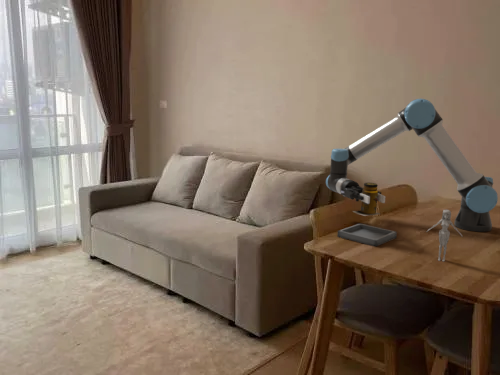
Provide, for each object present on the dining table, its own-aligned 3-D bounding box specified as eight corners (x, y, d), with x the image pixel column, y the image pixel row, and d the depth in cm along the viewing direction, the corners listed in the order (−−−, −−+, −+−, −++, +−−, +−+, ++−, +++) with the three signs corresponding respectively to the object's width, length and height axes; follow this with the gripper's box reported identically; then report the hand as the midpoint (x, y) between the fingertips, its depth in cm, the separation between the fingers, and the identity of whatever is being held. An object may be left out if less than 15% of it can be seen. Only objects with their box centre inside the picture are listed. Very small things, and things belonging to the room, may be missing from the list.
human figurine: (423, 258, 173) (428, 208, 169) (424, 255, 176) (429, 206, 173) (459, 264, 168) (465, 213, 164) (460, 260, 171) (466, 211, 168)
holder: (396, 237, 197) (396, 231, 196) (375, 246, 184) (375, 240, 184) (359, 229, 208) (359, 223, 208) (337, 236, 196) (337, 230, 195)
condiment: (380, 214, 193) (383, 184, 191) (364, 216, 189) (367, 186, 187) (367, 210, 199) (370, 181, 197) (352, 212, 195) (354, 182, 193)
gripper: (367, 195, 213) (397, 208, 192) (327, 197, 208) (353, 210, 186) (368, 179, 212) (398, 189, 190) (328, 180, 206) (355, 191, 185)
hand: (376, 199), depth 188 cm, fingers closed on condiment, 6 cm apart
